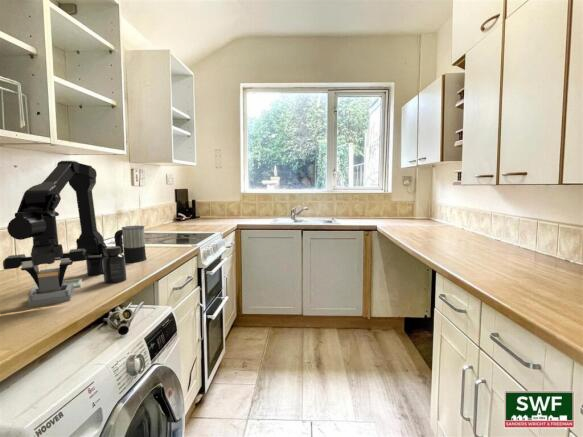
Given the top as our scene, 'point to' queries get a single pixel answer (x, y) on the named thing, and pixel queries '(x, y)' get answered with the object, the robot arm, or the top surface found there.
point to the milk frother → (131, 243)
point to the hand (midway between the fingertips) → (50, 287)
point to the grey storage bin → (50, 296)
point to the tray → (76, 283)
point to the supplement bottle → (114, 265)
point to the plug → (49, 280)
